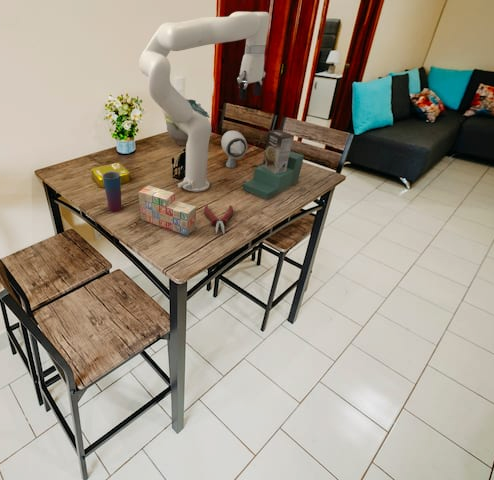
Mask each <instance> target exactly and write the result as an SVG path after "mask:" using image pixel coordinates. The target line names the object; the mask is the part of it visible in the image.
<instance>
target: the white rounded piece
mask: <svg viewBox="0 0 494 480" xmlns="http://www.w3.org/2000/svg"><path fill="white" fill-rule="evenodd" d="M220 141H221V142H220V143H221V148H222V150H223V152H224V154H226V155H227V156H228V158H227V160H226V163H225V167H226V168H229V169H233V168H234V169H235V168H236V167H237V163H236V160H238V159H241V158H242V157H244V156H245V155H246V153H247V152H248V149H249V147H248V142H247V140H246V138H245V136H244V135H243V134H242V133H241V132H239V131H237V130H228V131H226V132H225V133H224V134H223V135H222V137H221V140H220Z"/></svg>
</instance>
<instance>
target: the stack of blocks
mask: <svg viewBox="0 0 494 480" xmlns="http://www.w3.org/2000/svg"><path fill="white" fill-rule="evenodd" d="M138 203H139V214H140V220H142V221H144V222H147V223H150V224H153V225H156V226H158V227H161V228H164V229H167V230H170V231H173V232H176V233H178V234H181V235H184V236H188V235H190V234H191V233H192V232H193V231H194V230H195V229H196V219H197V217H196V215H197V206H195V205H191V204H189V203H186V202H182V201H179V200H176V193H175V192H173V191H170V190H169V191H168V190H165V189H162V188H158V187H155V186H152V185H146V186H145V187H144V188H142V189H140V190H139V191H138Z"/></svg>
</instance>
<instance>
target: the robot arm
mask: <svg viewBox="0 0 494 480" xmlns="http://www.w3.org/2000/svg"><path fill="white" fill-rule="evenodd" d="M269 23H270V13H269V12H268V11H234V12H232V13H231V14H230V15H228V16H204V17H203V16H202V17H199V18H194V19H190V20H184V21H178V22H169V21H167V22H164V23H162V24H161V25H160V26H159V27H158V28H157V30H156V31H155V33H154V34H153V36H152V37H151V38H150V40H149V42H148V44H147V45H146V47H145V48H144V50H143V51H142V53H141V54H140V57H139V60H138V68H139V70H140V71H141V73H142V74H143V75H145V76H146V77H147V88H148V93H149V96H150V97H151V99H152V100H153V102H155V103H156V104H157V105H158V106H159V108H160V109H161V111H162V113H163V115H164V114H165V116H167V117H168V118H169V119H170V120H171V121H172V122H173V123H174V124H175V125H177V126H178V127H179V128H180V129H181V130H182V131H184V132H185V133H187V134H188V141H187V144H186V145H185V172H184V173H185V174H184V175H185V177H183V180H182V181H181V182H179V183H177V187H178V188H183V189H184V190H185V191H188V192H193V193H199V192H204V191H206V190H208V189H209V188H210V182H209V181H208V180H207V177H208V176H207V173H208V159H209V158H208V157H209V144H210V138H211V134H212V123H211V121H210V120H209V118H208V117H205V116H203V115H201V114H199V113H197V112H196V111H194V110H193V109H192V106H191V104H190V103H189V102H188V100H189V99H188V100H186V99H187V98H185V97H184V96H183V95H182V94H181V93H180V92H179V91H178V90H177V89H176V87H174V86H173V85H172V83H171V77H170V76H171V63H170V61H169V59H168V58H167V57H168V55H169V54H170V53H171V52H180V51H181V52H182V51H185V50H190V49H196V48H200V47H204V46H208V45H217V44H223V43H229V42H237V41H241V40H245V48H244V54H243V56H242V60H241V65H240V70H239V75H238V77H237V78H236V80H237V86H238V100H243V101H245V100H246V99H247V91H248V90H247V87H248V85H249V84H253V83H254V84H253V91H252V95H253V96H256V97H257V96H258V97H259V96H261V91H262V86H263V82H264V80H265V77H266V74H267V73H266V71H265V70H264V69H265V53H266V45H267V39H268V32H269V25H270V24H269ZM207 118H208V119H207Z"/></svg>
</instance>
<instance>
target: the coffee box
mask: <svg viewBox="0 0 494 480" xmlns="http://www.w3.org/2000/svg"><path fill="white" fill-rule="evenodd" d="M293 141H294V135H293V134H291V133H288V132H286V131H284V130H283V129H282V130H281V129H273V130H268V131H267V136H266V142H265V149H264V154H263V160H262V165H263V166H262V167H264V168H265V169H267V170H269V171H270V172H272V173H274V174H278V173H282V172H286V168H287V163H288V159H289V154H290V151H291V149H292V146H293Z"/></svg>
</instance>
